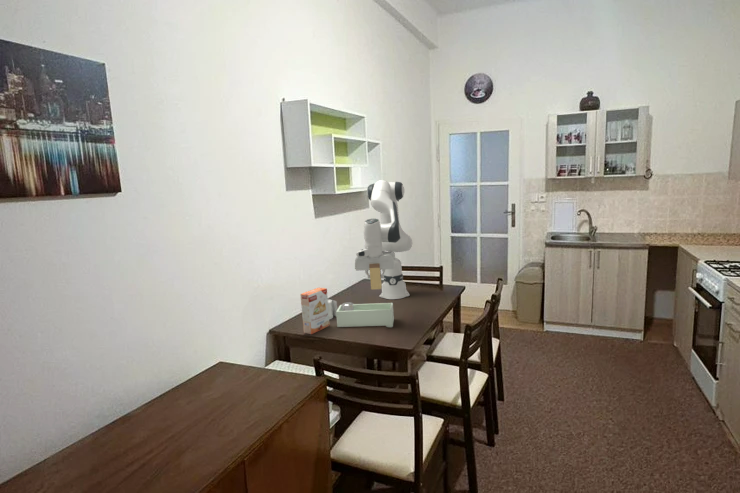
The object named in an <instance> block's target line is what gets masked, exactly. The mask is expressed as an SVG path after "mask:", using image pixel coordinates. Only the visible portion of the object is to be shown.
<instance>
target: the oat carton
mask: <svg viewBox="0 0 740 493" xmlns="http://www.w3.org/2000/svg"><path fill="white" fill-rule="evenodd" d="M369 268H370V270H369V275H370V279H369V280H370V290H382V283H383V282H382V278H381V276H380V275H381V274H382V270H380V263H378V264H369Z"/></svg>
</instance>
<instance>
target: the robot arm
mask: <svg viewBox="0 0 740 493" xmlns="http://www.w3.org/2000/svg"><path fill="white" fill-rule="evenodd" d="M404 195H405V186H404V185H403V183H402V182H401V181H387V180H385V179H380V180H377V181H375V183H371V184H369V185H368V186H367V190H366V196H367V198H368V200H369V201H370V205H371V207H372V208H373V209H374V210H375V211H377V212H379V215H380V220H379V219H378V218H369V219H366V220H365V221H364V225H363V238H364V241H365V242H364V248H363V249H360V250H357V251H356V253H355V254H356V258H355V260H354V269H355V271H364V272H365V274H366V275H367V279H368V280H370V273H369V271H370V268H369V264H378V263H380V270H381V275H380V276H381V279H383V281H382V282H381V283H382V287H381V293H380V294H379V296H378V297H379V298H383V299H387V300H400V299H403V298H406V297H409V296H410V293H409V291H408V290H407V287H406V286H407V285H406V282H405V281H404V275H403V269H402V261H401V259H399V258H397V257H396V254H395V253H403V252H407V251H410V250H411V249H412V247H413V246H412V245H413V240H412V238H411V236H410V235H409V234H408V233H406V232H405V231H404V230H403V228H402V226H401V224H400V223H401V222H400V216H399V204H398V202H399V201H400V200H402V199H403V198H404Z"/></svg>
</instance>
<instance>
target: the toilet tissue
mask: <svg viewBox="0 0 740 493" xmlns="http://www.w3.org/2000/svg"><path fill="white" fill-rule="evenodd" d="M337 309H338V301H337V300H334V299H328V310H329V321H330V320H332V319H333V318H334V317H336V311H337Z"/></svg>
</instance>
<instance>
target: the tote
mask: <svg viewBox="0 0 740 493" xmlns="http://www.w3.org/2000/svg"><path fill="white" fill-rule="evenodd" d="M353 307H354V311H342V304H340V305H339V306H338V307H337V311H336V316H335V317H336V326H337V328H349V327H351V328H354V327H376V326H377V327H381V326H382V327H383V326H385V327H386V328H393V327H394V322H395V316H394V315H395V314H394V303H393V302H380V303H379V302H377V303H374V302H373V303H353Z"/></svg>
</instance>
